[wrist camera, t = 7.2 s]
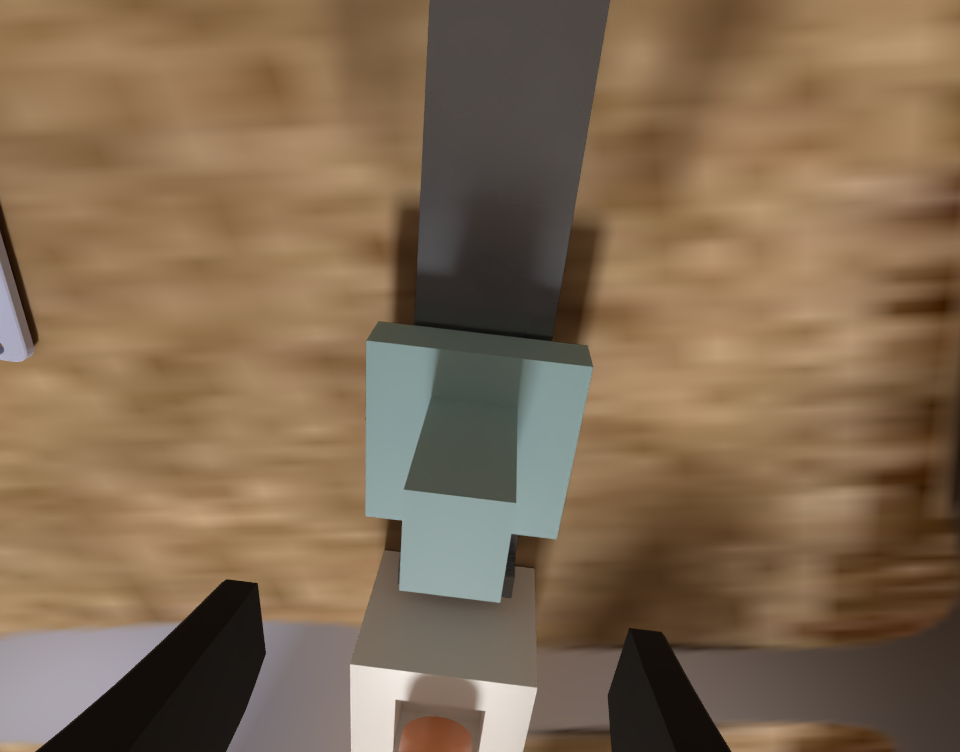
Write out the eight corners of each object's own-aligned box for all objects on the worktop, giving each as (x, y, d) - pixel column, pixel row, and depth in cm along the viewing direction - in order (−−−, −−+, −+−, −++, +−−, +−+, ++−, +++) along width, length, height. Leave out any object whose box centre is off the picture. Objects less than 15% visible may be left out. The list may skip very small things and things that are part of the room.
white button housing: (381, 650, 25) (351, 770, 21) (384, 550, 22) (349, 664, 18) (515, 666, 25) (513, 791, 20) (534, 568, 22) (537, 687, 18)
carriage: (376, 488, 19) (325, 624, 14) (378, 321, 16) (317, 418, 11) (554, 509, 19) (565, 654, 14) (587, 345, 16) (616, 454, 11)
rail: (410, 534, 22) (397, 584, 20) (469, -571, 10) (454, -760, 8) (512, 546, 22) (511, 598, 20) (693, -550, 10) (743, -735, 8)
